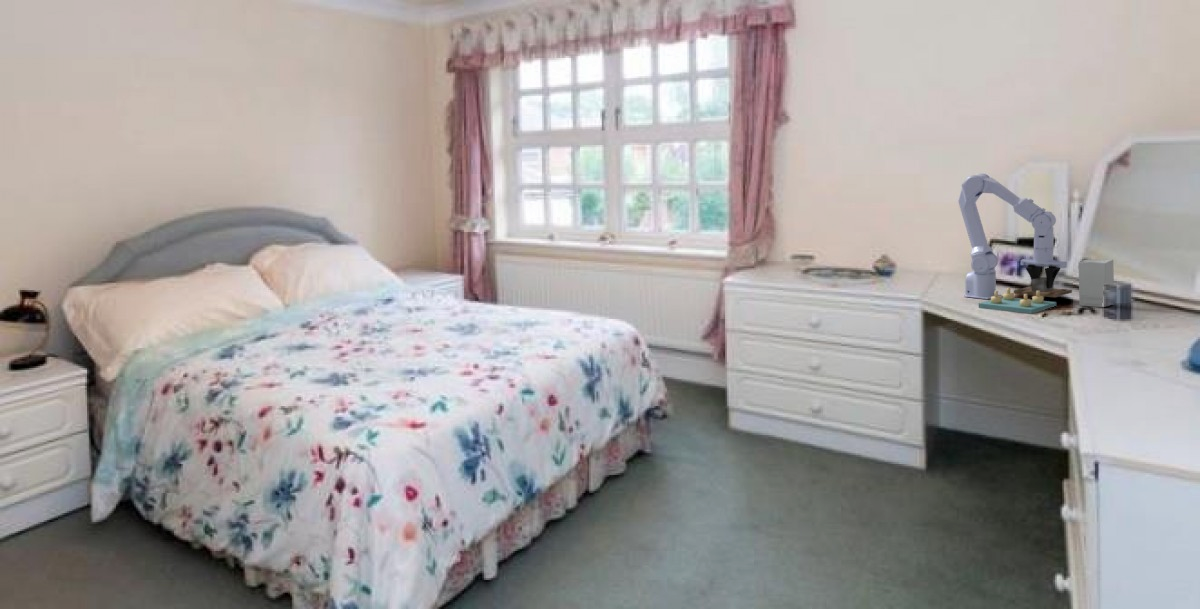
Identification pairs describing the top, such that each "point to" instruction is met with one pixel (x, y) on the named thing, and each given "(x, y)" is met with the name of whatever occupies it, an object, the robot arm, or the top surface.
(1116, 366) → the top surface
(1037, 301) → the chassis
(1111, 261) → the skincare box
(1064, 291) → the board
